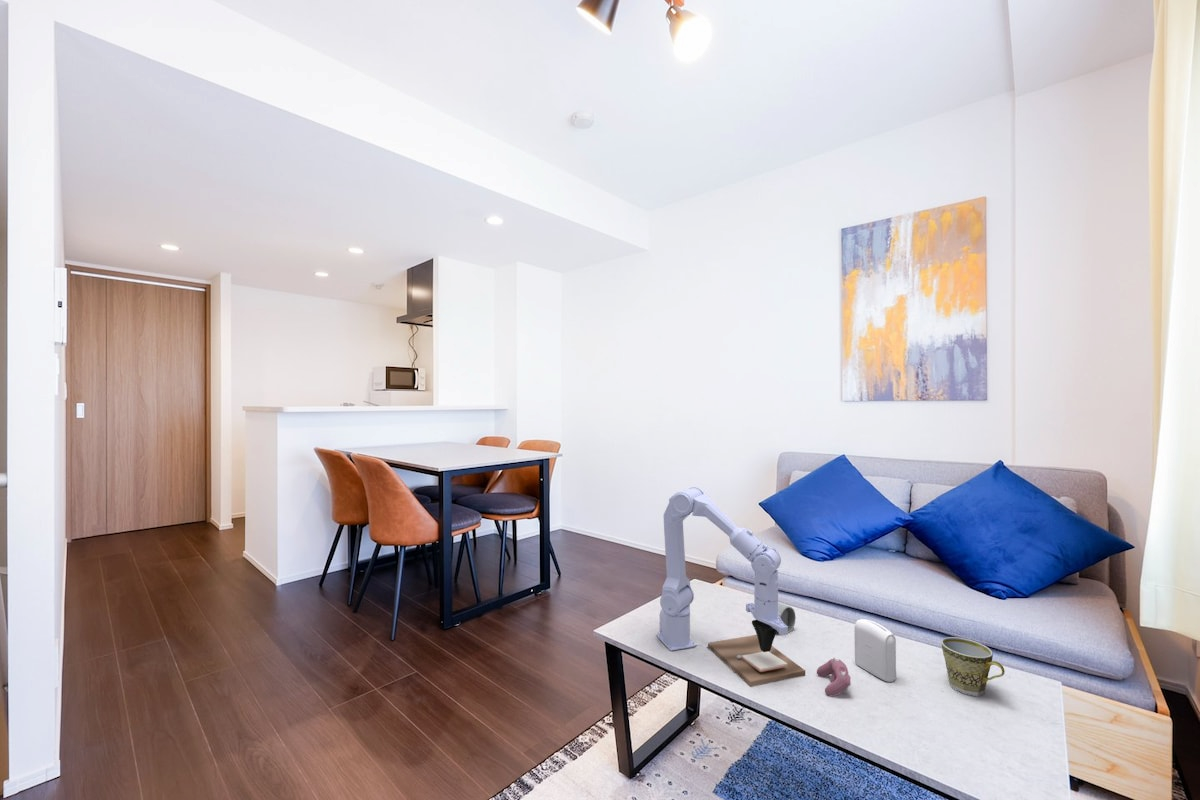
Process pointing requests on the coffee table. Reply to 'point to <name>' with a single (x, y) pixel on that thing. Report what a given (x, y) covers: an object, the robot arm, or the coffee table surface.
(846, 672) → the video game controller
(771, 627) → the robot arm
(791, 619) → the ceramic mug
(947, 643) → the ceramic cup
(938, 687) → the coffee table surface
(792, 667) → the board
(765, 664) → the hinged panel
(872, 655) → the photo printer
